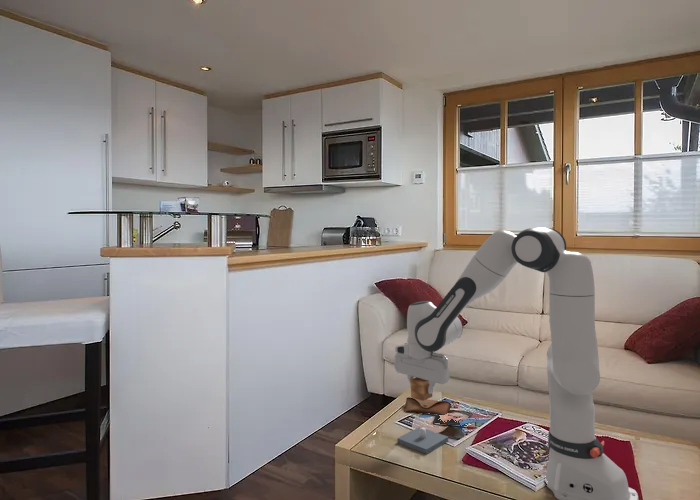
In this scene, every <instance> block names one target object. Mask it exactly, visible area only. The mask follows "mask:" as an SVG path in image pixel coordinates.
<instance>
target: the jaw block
mask: <svg viewBox="0 0 700 500" xmlns="http://www.w3.org/2000/svg"><path fill="white" fill-rule="evenodd" d="M429 385H430V384H429V383H428V380H424V379H421V378H417V377H413V379H411V386H410V397H411V398H415V399H419V400H422V401H424V400H429V399H430V398H432V397H433V393H431V394H429V393H426V388H427V387H429Z"/></svg>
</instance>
